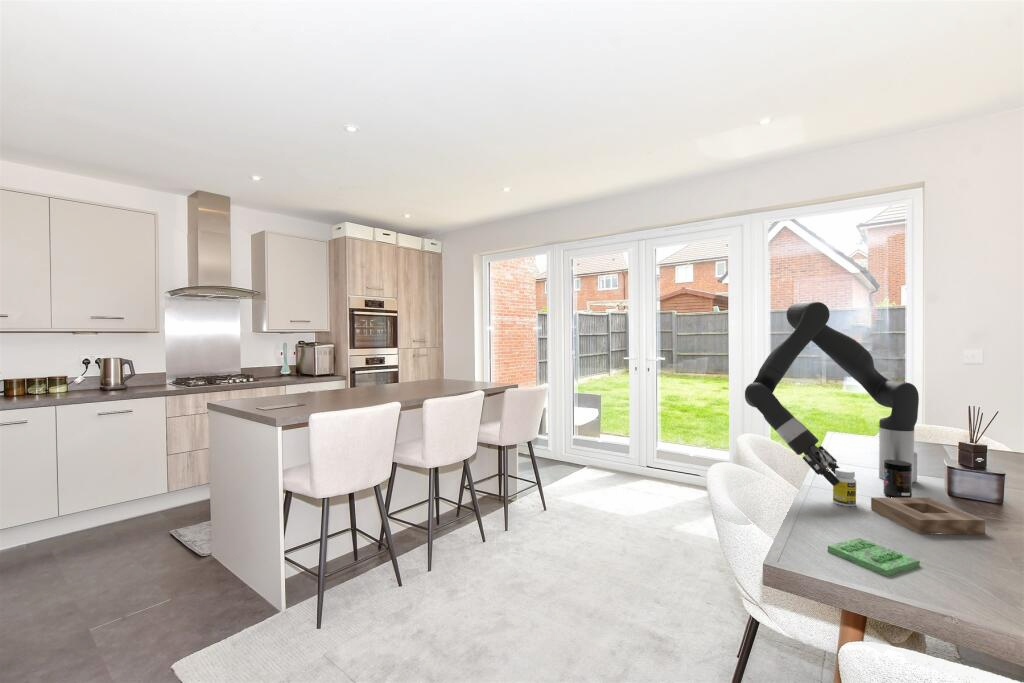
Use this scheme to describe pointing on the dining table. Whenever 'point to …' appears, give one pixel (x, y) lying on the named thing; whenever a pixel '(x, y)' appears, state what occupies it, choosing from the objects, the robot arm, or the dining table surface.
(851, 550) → the green jade tablet
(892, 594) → the dining table surface
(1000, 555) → the dining table surface
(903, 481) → the supplement container
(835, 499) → the supplement bottle
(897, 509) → the walnut pocket block
